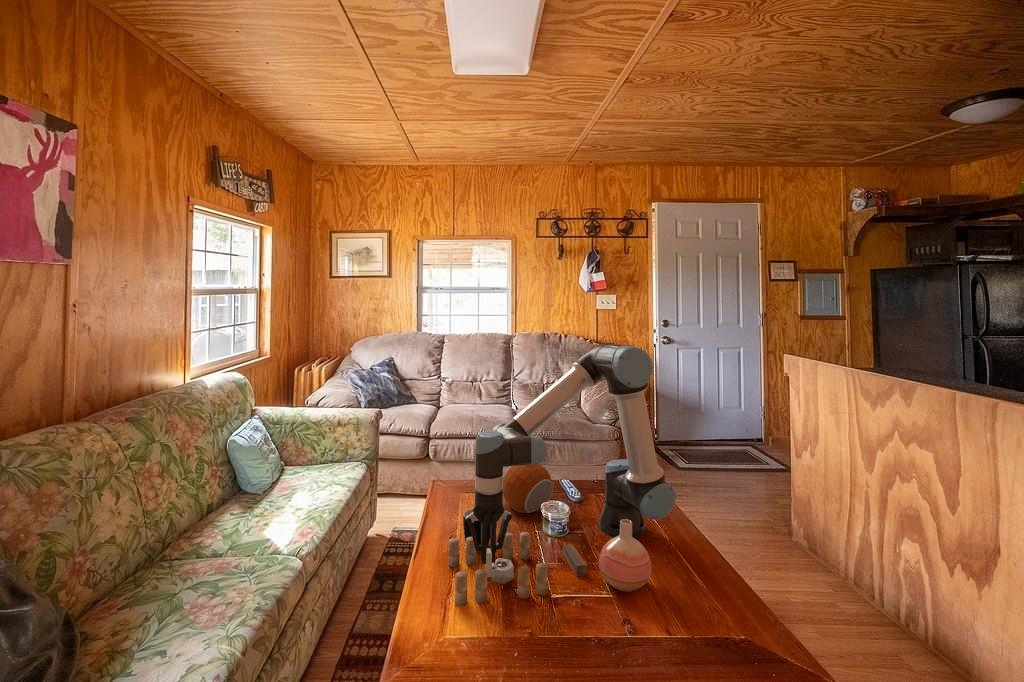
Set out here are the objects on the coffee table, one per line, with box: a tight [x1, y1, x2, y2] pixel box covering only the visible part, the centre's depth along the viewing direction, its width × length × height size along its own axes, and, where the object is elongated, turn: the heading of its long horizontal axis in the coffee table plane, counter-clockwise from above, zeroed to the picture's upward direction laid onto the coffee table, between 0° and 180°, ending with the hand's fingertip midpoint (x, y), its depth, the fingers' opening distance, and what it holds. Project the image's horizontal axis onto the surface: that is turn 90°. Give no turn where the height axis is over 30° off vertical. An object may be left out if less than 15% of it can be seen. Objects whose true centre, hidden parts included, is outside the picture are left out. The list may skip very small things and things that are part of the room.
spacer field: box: [448, 531, 549, 606], centre depth 131 cm, size 24×22×7 cm
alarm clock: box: [502, 463, 555, 514], centre depth 179 cm, size 19×18×17 cm
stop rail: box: [561, 543, 588, 577], centre depth 138 cm, size 3×12×3 cm, turn 13°
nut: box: [489, 557, 515, 585], centre depth 132 cm, size 6×7×4 cm
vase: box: [598, 519, 652, 593], centre depth 128 cm, size 14×14×18 cm
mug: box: [462, 508, 490, 547], centre depth 150 cm, size 12×9×10 cm
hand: (488, 573), depth 131 cm, fingers closed
